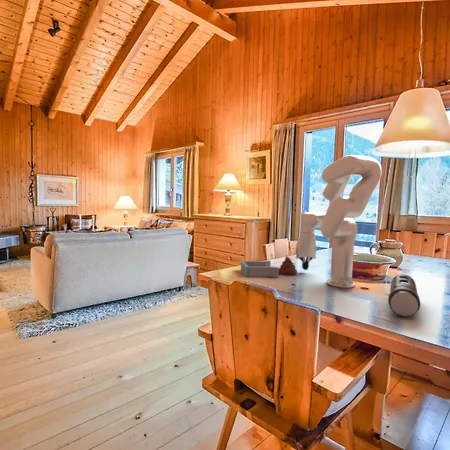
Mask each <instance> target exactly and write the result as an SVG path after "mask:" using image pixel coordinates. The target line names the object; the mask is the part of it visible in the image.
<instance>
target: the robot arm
mask: <svg viewBox="0 0 450 450" xmlns="http://www.w3.org/2000/svg"><path fill="white" fill-rule="evenodd" d="M382 175H383V174H382V165H381V164H380V162H379V161H378V160H377V159H376V158H373V157H371V156H367V155H366V156H365V155H356V154H349V155H345V156H343V157H341V158H339V159H337V160H334V161H333V162H331V163H329V164H327V165H326V166H325V167H324V168H323V170H322V172H321V180H322V181H323V182H325V183H326V185H325V187H324V189H323V191H322V196H323V198H324V199H326V200H327V201H329V202H328V203H329V204H328V207H327V209H326V211H325V212H307V211H305V212H301V213H300V219H299V220H300V224H299V237H297V240H296V245H295V255H296V256H295V258H296V259H298V260H300V261H301V268H302V269H303V270H304V271H307V270H308V269H309V264H310V262H311V261H312V260H314V259H316V258H317V241H316V238H315V237H317V235H318V234H317V233H315V232H316V231H315V229H316V228H319V229H320V233H321V235H322V236H323V238H326V239H330V240H331V239H333V242H332V245H331V255H330V256H331V259H330V261H331V262H330V273H329V274H330V275H329V278H328V279H326V284H327V285H330V286H332V287H336V288H342V289H343V288H344V289H346V288H347V289H351V288H354V287H356V283H355V281H353V265H354V264H353V262H354V251H355V250H354V249H355V241H356V237H357V233H358V224H357V222H356V221H355V220H354V219H355V218H356V219H357V218H359V217H361V216H362V214H363V213H364V211H365V209H366V207H367V205H368V203H369V201H370V200H371V197H372V195H373V193H374V191H375V190H376V188H377V186H378V184H379V182H380V181H381V178H382ZM352 176H358V177H360V178H359V179H358V180H357V181H356V182H355V184H353V185H352V187H351V189H350V192H349V193H348V195H347V196H342V195H343V193H344V192H345V189H346V187H347V186H348V184H349V183H350V180H351V178H352Z"/></svg>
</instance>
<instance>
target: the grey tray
mask: <svg viewBox="0 0 450 450" xmlns="http://www.w3.org/2000/svg"><path fill="white" fill-rule="evenodd" d="M271 265H272V264H271V260H261V261H260V260H241V261H240V271H241V272H242V274H243V275H244V277H245V278H279V268H280V266H271Z"/></svg>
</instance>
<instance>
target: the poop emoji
mask: <svg viewBox="0 0 450 450" xmlns="http://www.w3.org/2000/svg"><path fill="white" fill-rule="evenodd" d="M279 274H280V275H288V276H295V275H297V274H298V271H297V269H296V265H295V264H294V262H292V259H291V258H290V257H289V256H287V255H286V256H285V258H284V261H282V262H281V265H280V266H279ZM279 274H278V275H279Z"/></svg>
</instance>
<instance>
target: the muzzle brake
mask: <svg viewBox="0 0 450 450" xmlns="http://www.w3.org/2000/svg"><path fill="white" fill-rule="evenodd" d="M390 282H391V283H390V289H389V290H390V291H389V294H388V299H387V300H388V305H389V308H390V309H391V311H393V312H394V313H395V314H397V315H399V316H401V317H411V316H413V315H415V314H417V313H418V312H419V310H420V307H421V300H420V296H419V293H418V289H417V285H416V281H415V280H414V279H413V278H412V277H411V276H409V275H408V274H402V273H401V274H397V275H395V276H394V277H393V278H392V279H391V281H390Z"/></svg>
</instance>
